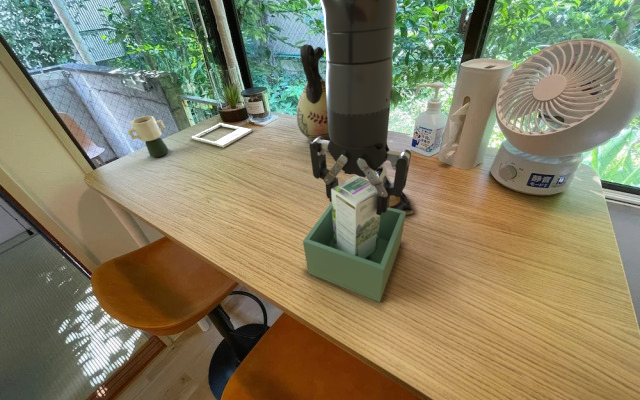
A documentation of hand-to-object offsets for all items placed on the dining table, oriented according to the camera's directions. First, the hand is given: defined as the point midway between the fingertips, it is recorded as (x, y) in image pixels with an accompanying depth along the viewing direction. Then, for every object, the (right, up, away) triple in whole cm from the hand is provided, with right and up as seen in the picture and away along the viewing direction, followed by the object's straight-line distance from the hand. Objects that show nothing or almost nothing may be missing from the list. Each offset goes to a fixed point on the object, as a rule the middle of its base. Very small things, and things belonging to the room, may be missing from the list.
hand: (356, 205), depth 40 cm
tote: (+1, -10, +8) cm, 13 cm away
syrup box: (+1, -9, +7) cm, 11 cm away
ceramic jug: (-6, +22, +49) cm, 54 cm away
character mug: (-64, +17, +51) cm, 84 cm away
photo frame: (-45, +26, +60) cm, 79 cm away
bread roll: (+10, -1, +20) cm, 22 cm away
